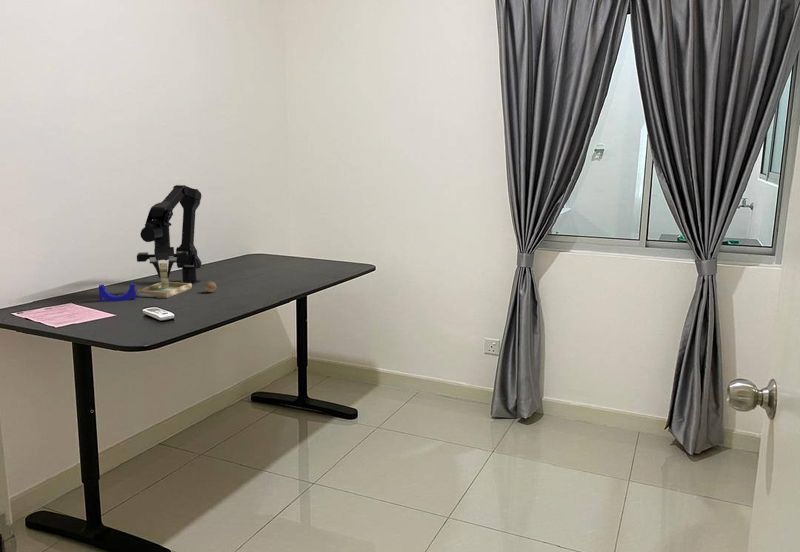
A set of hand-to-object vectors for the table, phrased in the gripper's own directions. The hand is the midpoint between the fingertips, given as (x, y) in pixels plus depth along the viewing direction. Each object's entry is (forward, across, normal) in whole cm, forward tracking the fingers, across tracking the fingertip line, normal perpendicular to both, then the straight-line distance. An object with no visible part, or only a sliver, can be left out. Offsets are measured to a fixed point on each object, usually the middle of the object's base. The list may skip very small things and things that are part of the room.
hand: (164, 278), depth 251 cm
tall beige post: (+4, 0, +6) cm, 7 cm away
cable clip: (+6, -16, -9) cm, 19 cm away
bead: (+6, +17, -4) cm, 19 cm away
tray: (+6, 0, 0) cm, 6 cm away
